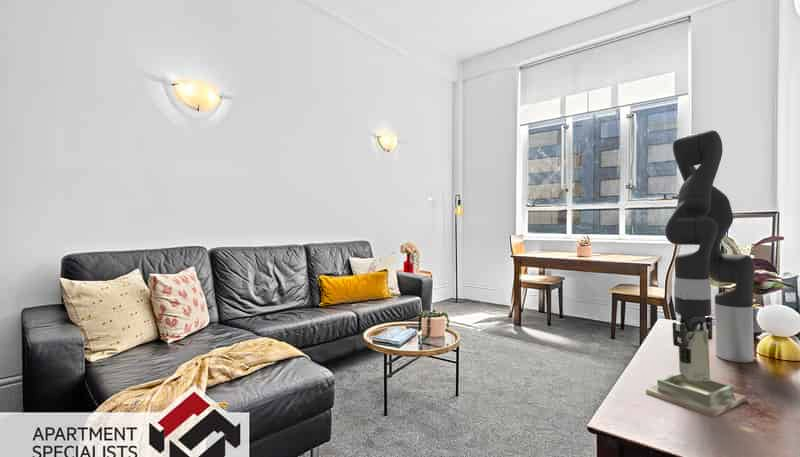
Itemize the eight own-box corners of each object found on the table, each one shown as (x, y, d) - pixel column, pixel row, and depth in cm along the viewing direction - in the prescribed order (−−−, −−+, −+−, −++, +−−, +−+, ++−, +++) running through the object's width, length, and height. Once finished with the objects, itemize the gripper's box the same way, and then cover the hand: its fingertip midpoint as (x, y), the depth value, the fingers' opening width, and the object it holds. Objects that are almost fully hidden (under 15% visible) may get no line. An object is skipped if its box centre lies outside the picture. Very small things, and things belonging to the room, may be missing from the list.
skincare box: (710, 382, 96) (709, 332, 96) (691, 381, 97) (690, 332, 97) (696, 372, 103) (695, 325, 102) (678, 371, 103) (677, 325, 103)
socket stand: (680, 379, 110) (679, 367, 110) (746, 400, 97) (746, 386, 97) (646, 392, 103) (645, 379, 103) (712, 417, 89) (712, 402, 89)
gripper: (691, 290, 106) (692, 350, 106) (660, 296, 100) (661, 361, 100) (724, 294, 99) (725, 359, 100) (693, 301, 93) (694, 370, 93)
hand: (693, 359), depth 100 cm, fingers closed on skincare box, 7 cm apart
